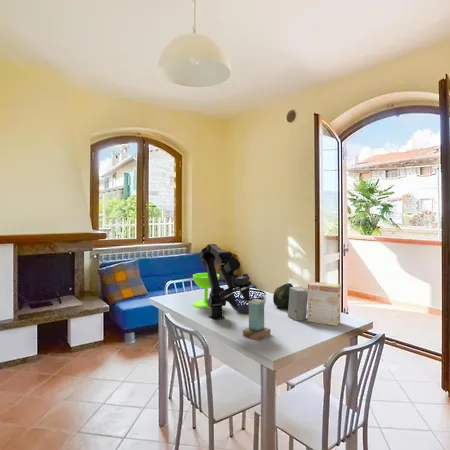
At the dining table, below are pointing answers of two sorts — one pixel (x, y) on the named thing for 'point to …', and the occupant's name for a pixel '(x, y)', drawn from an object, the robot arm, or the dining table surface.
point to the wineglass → (202, 282)
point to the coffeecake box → (324, 303)
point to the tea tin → (256, 315)
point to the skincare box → (297, 303)
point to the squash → (282, 295)
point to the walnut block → (257, 333)
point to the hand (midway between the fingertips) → (243, 305)
